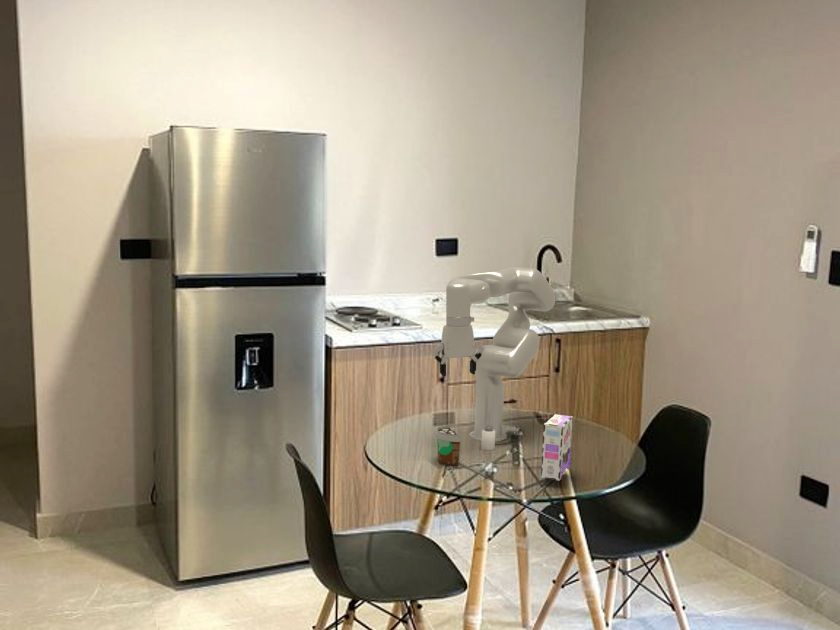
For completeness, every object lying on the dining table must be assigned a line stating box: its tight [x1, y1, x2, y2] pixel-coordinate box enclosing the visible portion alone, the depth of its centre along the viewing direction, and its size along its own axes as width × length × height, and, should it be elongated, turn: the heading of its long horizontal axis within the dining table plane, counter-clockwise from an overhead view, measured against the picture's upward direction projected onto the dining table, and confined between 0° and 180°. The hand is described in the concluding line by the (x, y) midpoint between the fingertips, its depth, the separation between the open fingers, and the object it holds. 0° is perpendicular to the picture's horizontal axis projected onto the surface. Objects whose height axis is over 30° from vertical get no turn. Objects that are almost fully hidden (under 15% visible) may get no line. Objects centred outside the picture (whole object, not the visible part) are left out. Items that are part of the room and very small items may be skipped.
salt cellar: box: [480, 426, 496, 451], centre depth 278 cm, size 4×4×7 cm
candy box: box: [540, 414, 574, 482], centre depth 253 cm, size 14×6×16 cm, turn 157°
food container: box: [434, 424, 462, 467], centre depth 261 cm, size 12×6×10 cm, turn 14°
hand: (458, 374), depth 272 cm, fingers open, 9 cm apart
